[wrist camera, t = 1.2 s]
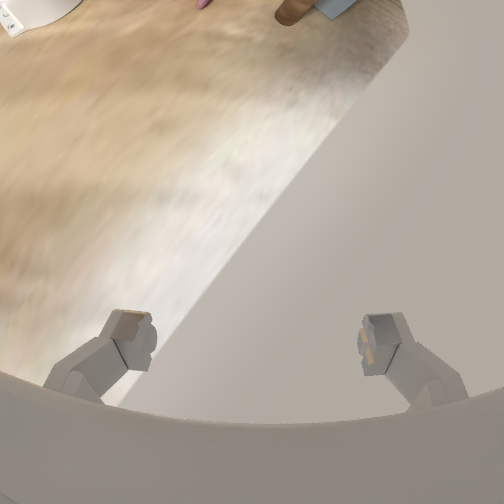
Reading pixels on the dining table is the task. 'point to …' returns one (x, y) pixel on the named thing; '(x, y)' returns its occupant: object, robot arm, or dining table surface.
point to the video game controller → (201, 3)
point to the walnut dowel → (292, 11)
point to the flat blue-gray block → (333, 7)
